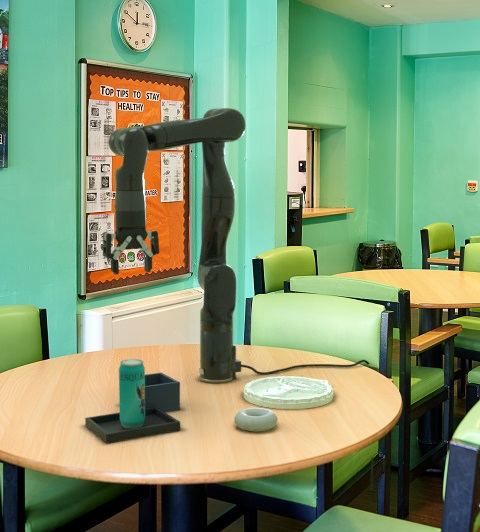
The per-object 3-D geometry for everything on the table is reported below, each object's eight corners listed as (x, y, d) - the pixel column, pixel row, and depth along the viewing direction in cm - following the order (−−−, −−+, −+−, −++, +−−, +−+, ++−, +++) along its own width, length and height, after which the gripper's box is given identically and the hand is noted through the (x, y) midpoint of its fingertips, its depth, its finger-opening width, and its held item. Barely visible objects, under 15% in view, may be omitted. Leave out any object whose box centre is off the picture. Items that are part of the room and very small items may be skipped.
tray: (156, 414, 196) (156, 406, 196) (180, 430, 185) (180, 421, 185) (85, 426, 187) (85, 417, 187) (106, 443, 176) (106, 434, 175)
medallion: (224, 396, 213) (224, 387, 213) (293, 377, 233) (293, 369, 232) (292, 415, 197) (292, 405, 197) (359, 393, 217) (359, 384, 217)
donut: (275, 420, 194) (233, 420, 193) (275, 406, 193) (233, 405, 192) (279, 433, 184) (234, 433, 183) (279, 419, 183) (235, 418, 182)
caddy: (161, 398, 210) (161, 372, 209) (180, 409, 201) (180, 382, 200) (121, 405, 204) (120, 377, 203) (138, 416, 195) (138, 388, 194)
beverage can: (139, 430, 183) (139, 365, 181) (115, 428, 184) (114, 363, 182) (148, 422, 188) (148, 359, 187) (125, 421, 190) (124, 358, 188)
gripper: (108, 210, 197) (110, 276, 199) (162, 208, 204) (164, 272, 206) (97, 209, 203) (99, 273, 205) (150, 207, 211) (151, 269, 213)
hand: (132, 272), depth 206 cm, fingers open, 8 cm apart
